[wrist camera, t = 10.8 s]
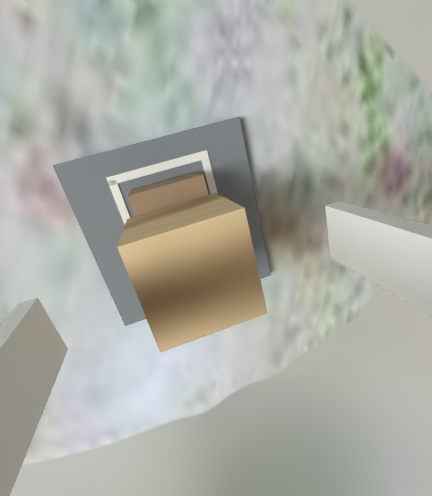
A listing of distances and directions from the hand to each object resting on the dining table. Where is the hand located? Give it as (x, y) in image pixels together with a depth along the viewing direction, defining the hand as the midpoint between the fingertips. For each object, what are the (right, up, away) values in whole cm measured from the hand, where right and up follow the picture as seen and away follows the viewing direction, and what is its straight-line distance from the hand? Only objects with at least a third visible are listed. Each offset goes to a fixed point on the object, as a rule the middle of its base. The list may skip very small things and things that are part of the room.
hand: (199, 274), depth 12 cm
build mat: (-3, +3, +11) cm, 12 cm away
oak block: (-1, +1, +7) cm, 7 cm away
